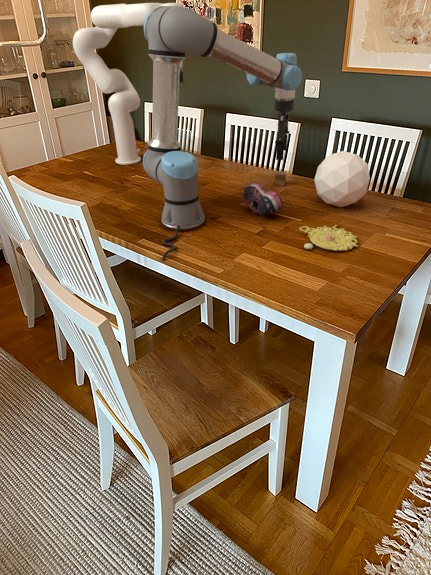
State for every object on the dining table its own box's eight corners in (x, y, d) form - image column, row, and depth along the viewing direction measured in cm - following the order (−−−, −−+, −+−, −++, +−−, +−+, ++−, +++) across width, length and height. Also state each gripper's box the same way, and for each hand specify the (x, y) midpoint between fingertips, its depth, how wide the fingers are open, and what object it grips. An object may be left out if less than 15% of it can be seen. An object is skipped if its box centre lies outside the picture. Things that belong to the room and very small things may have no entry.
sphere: (345, 225, 166) (360, 196, 147) (300, 198, 170) (308, 167, 152) (371, 189, 170) (388, 157, 152) (326, 164, 175) (337, 130, 156)
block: (275, 182, 188) (276, 170, 186) (285, 182, 188) (286, 171, 185) (274, 185, 185) (274, 174, 182) (284, 185, 184) (285, 174, 182)
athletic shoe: (254, 181, 170) (227, 189, 167) (283, 176, 151) (253, 185, 147) (260, 210, 173) (234, 218, 170) (290, 209, 154) (261, 219, 150)
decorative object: (343, 255, 128) (285, 234, 139) (342, 262, 130) (284, 241, 140) (372, 230, 142) (317, 213, 152) (371, 237, 143) (316, 219, 153)
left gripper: (171, 37, 189) (174, 81, 198) (157, 40, 175) (161, 87, 184) (187, 37, 188) (190, 81, 197) (175, 40, 173) (178, 87, 183)
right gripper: (278, 93, 179) (275, 146, 191) (270, 105, 159) (268, 163, 170) (297, 93, 178) (293, 146, 189) (291, 105, 157) (287, 164, 169)
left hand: (176, 84), depth 190 cm, fingers open, 9 cm apart
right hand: (281, 155), depth 180 cm, fingers open, 13 cm apart
